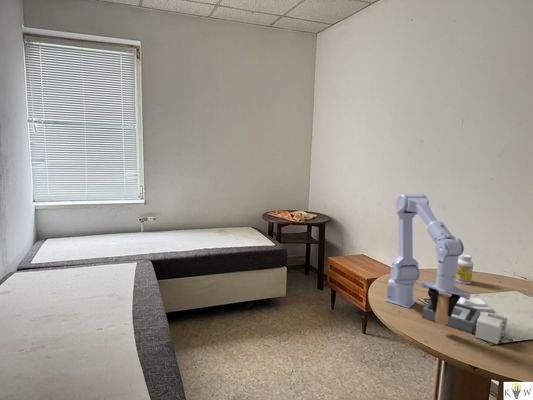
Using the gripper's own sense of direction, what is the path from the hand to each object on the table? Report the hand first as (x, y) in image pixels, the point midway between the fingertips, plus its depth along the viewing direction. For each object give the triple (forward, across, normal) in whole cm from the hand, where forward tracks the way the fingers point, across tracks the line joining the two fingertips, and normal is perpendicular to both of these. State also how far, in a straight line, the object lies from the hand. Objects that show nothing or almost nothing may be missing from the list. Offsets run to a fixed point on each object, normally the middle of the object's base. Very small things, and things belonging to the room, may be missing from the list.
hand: (442, 313), depth 115 cm
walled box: (+7, 0, +14) cm, 16 cm away
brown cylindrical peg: (+3, 0, 0) cm, 3 cm away
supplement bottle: (+7, -5, +58) cm, 59 cm away
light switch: (+8, +3, +32) cm, 33 cm away
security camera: (+4, +13, +14) cm, 20 cm away
